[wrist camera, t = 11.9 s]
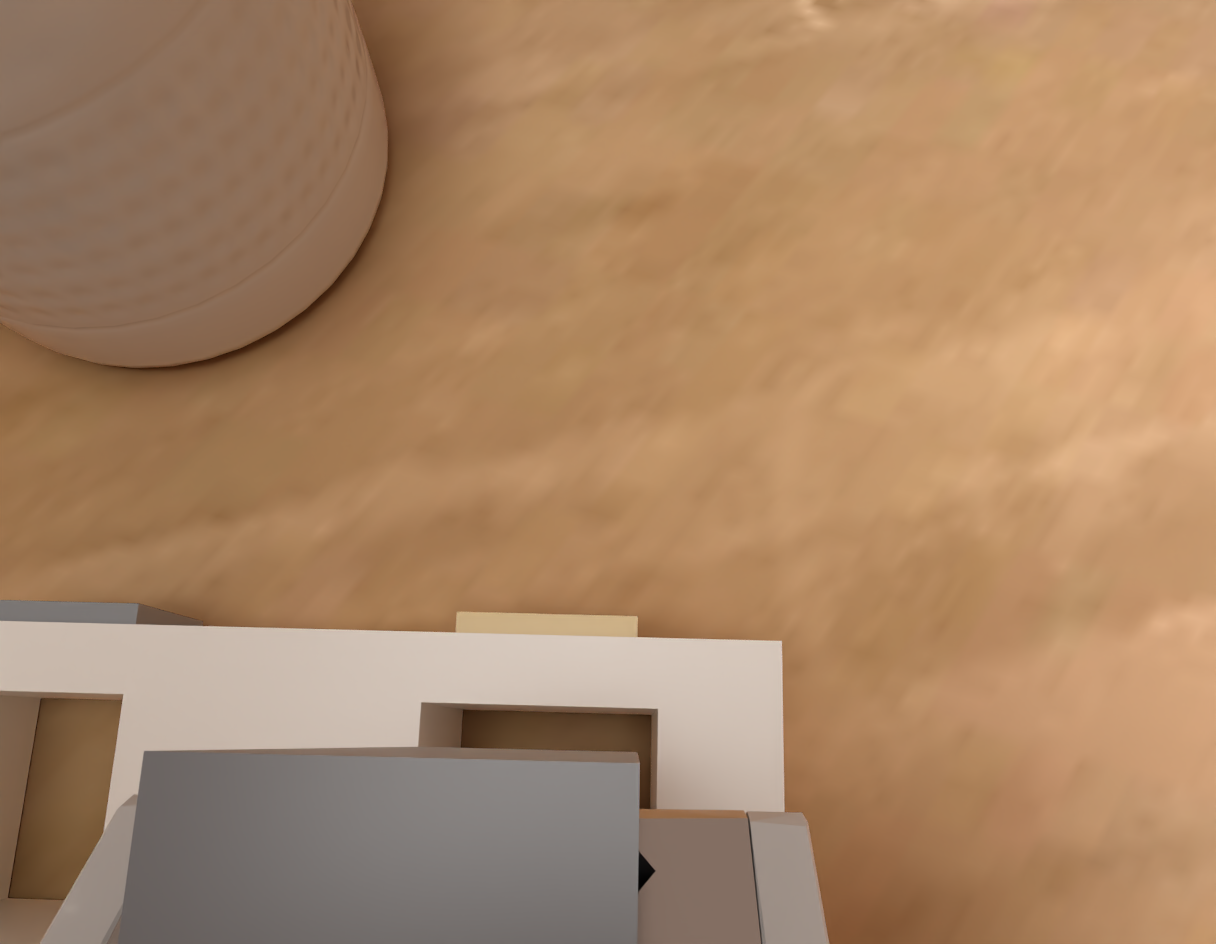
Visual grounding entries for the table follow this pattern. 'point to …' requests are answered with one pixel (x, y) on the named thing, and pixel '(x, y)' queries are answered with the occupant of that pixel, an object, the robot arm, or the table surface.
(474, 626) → the white socket block
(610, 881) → the plug
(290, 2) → the lamp
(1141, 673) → the table surface
